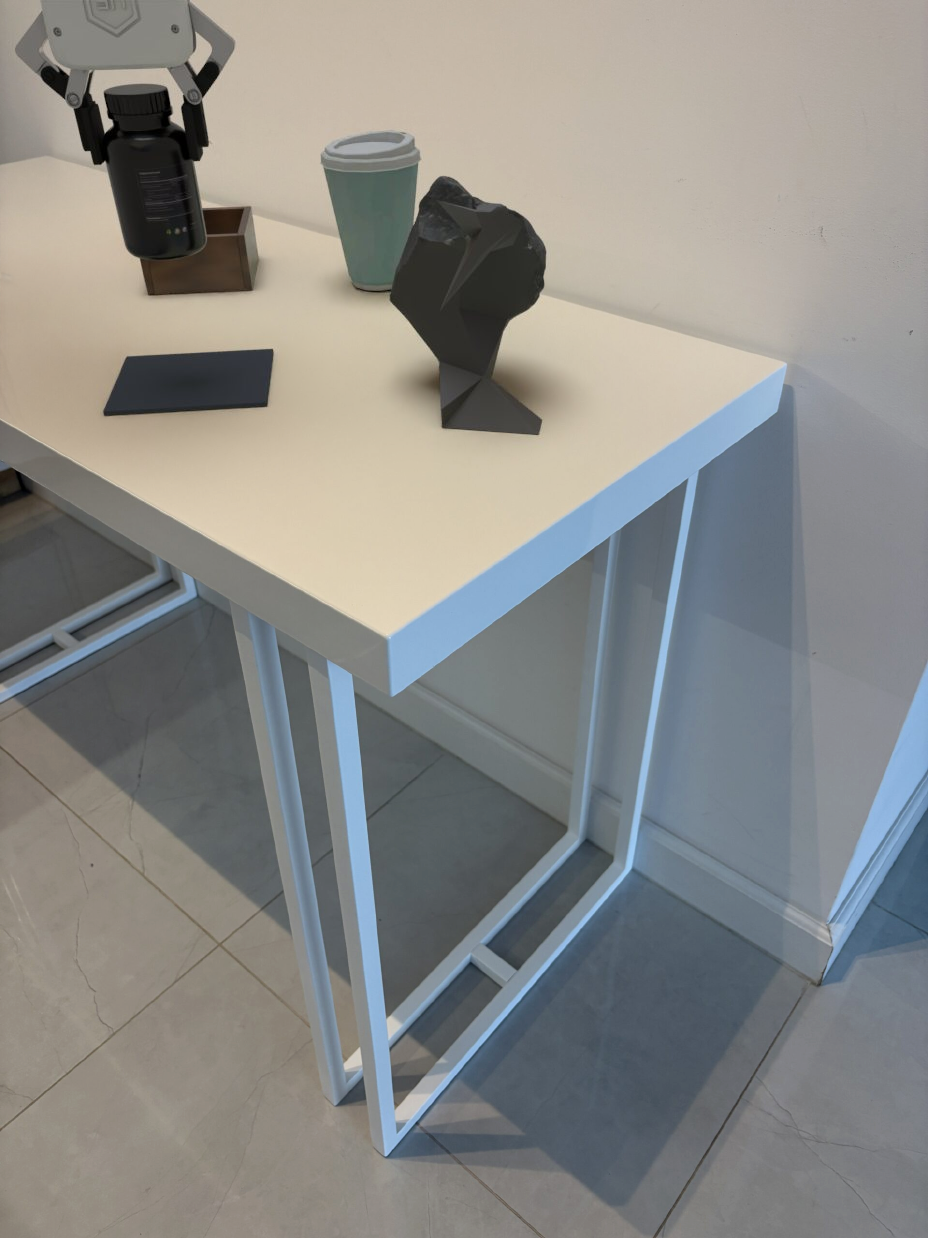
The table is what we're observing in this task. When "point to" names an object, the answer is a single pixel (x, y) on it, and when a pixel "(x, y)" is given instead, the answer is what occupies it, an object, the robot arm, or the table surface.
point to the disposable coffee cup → (373, 201)
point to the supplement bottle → (152, 175)
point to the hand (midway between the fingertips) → (149, 157)
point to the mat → (191, 382)
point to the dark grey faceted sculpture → (469, 299)
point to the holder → (211, 258)
